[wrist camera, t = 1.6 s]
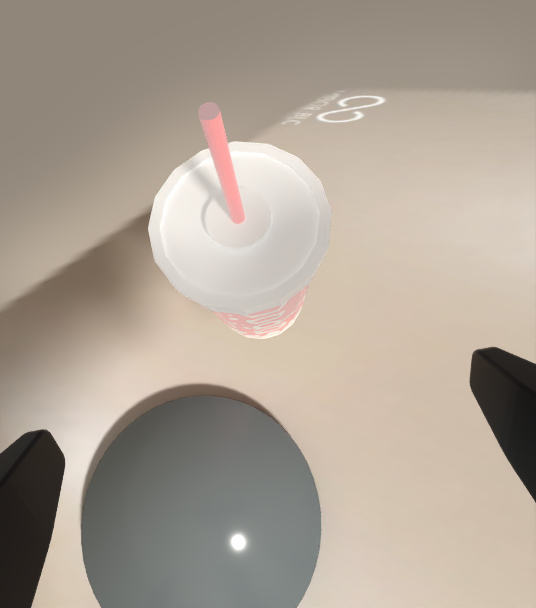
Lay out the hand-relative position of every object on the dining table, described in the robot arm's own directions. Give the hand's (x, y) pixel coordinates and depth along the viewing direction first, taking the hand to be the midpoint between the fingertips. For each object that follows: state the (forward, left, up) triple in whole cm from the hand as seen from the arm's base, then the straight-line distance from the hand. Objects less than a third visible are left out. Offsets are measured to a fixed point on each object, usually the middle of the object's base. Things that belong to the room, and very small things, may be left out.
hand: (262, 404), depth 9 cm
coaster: (-6, +2, -12) cm, 14 cm away
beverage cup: (+5, +3, -13) cm, 14 cm away
